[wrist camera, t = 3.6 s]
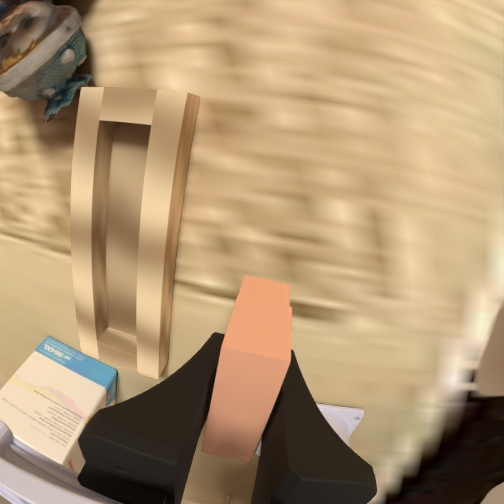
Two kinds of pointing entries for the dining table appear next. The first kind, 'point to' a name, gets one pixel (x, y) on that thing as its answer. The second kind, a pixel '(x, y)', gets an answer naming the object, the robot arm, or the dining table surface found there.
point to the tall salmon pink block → (249, 369)
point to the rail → (128, 220)
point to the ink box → (56, 400)
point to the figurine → (41, 52)
